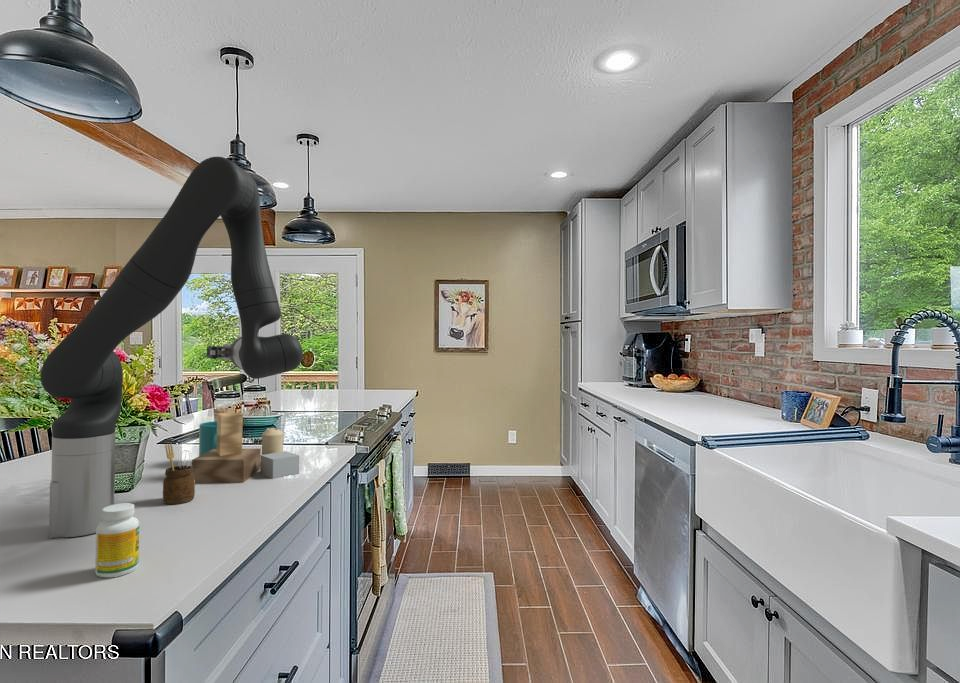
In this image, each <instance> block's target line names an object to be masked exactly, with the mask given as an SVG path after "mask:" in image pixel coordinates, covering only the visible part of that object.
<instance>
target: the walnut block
mask: <svg viewBox="0 0 960 683" xmlns="http://www.w3.org/2000/svg"><path fill="white" fill-rule="evenodd" d="M261 455H262V448H242V454H238V455H227V456H219V455H218V454H217V453H216V449H213V450H211V451H209V452H207V453H205V454H203V455H201V456H199V455H198V456H197V457H195V458H193V459H191V466H192V467H193V473H192V474H193V476H194V478H195V484H240V483H241V484H244V483H245V482H247V481H248V480H249V479H250V478H251V477H253V476H254V475H255V474H257V473H258V472H260V467H261ZM231 482H233V483H231Z"/></svg>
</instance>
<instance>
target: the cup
mask: <svg viewBox="0 0 960 683" xmlns="http://www.w3.org/2000/svg"><path fill="white" fill-rule="evenodd" d="M198 429H199V432H198V436H199V437H198V457H199V456H201V455H203V454H205V453H207V452H209V451H211V450H213V449H216V443H217V420H216V421H207V422H201V423H200V424H199V428H198Z"/></svg>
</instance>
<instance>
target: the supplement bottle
mask: <svg viewBox="0 0 960 683" xmlns="http://www.w3.org/2000/svg"><path fill="white" fill-rule="evenodd" d="M134 514H135V504H133V503H128V502H124V503H123V502H121V503H114V505H110V506H107V507H105V508H103V509H102V519H103V520H104V521H102V522H101V523H100V524H99V525H98V526H97V528H96V533H95V566H94V570H95V574H96V576H97V577H98V578H118V577H122V576H124V575H128V574H130V573H132V572H134V571H135V570H136V569H137V568H138V567H139V562H140V561H139V560H140V557H139V550H140V521H139V519H138V518H136V517H135V516H134Z"/></svg>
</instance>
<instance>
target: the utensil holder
mask: <svg viewBox="0 0 960 683" xmlns="http://www.w3.org/2000/svg"><path fill="white" fill-rule="evenodd" d="M164 447H165V453H166V458H167V459H168V460H169V461H170V467H168V468H166V469H165V471H164V472H165V473H164V475H165V477H164V478H163V482H162V499H163V502H164V504H166V505H180V504H186V503H188V502H189V503H190V502H192V501H193V500H194V498H195V494H196V493H195V492H196V490H195V488H196V485H195V484H196V483H195V478H194V476H193V474H192V473H193V467H192V465H190V464H192V461H188V463H187V465H182V464H181V462H182V460H181V459H182V458H179V459H177V460H178V464H177V465H175V466H174V462H173V459H174V457H175V454H174V448H173V445H172V443H170V444H169V443H167V444H166V443H165V444H164ZM184 452H185V453H186V452H187V453H188V456H189V458H188V460H191V458H192V456H193V455H192V453H191V451H190V450H182V451H181V452H180V454H179V456H178V457H182V454H183V453H184ZM186 456H187V454H185V456H184V458H186ZM185 463H186V460H184V462H183V464H185Z"/></svg>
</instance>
